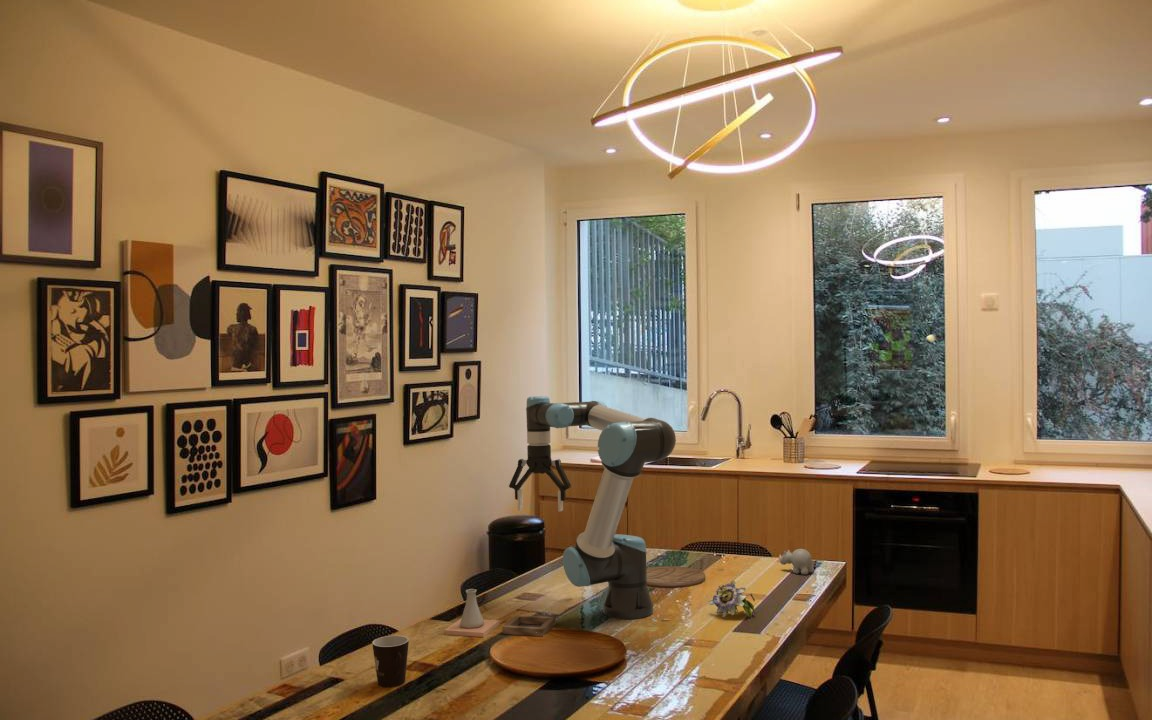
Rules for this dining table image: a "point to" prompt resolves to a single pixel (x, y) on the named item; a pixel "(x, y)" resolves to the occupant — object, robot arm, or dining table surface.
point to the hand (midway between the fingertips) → (540, 510)
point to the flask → (471, 612)
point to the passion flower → (731, 600)
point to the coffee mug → (390, 660)
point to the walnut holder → (530, 631)
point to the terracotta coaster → (472, 629)
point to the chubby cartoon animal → (798, 561)
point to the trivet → (673, 577)
